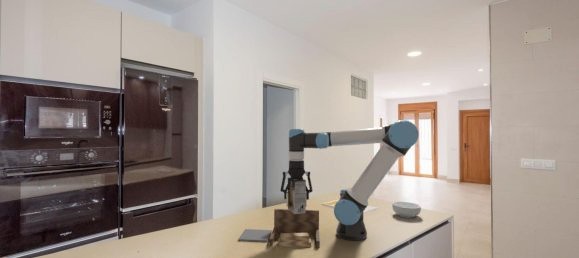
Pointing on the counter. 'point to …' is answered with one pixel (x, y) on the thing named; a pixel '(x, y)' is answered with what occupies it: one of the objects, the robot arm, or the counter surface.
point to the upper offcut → (294, 237)
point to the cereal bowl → (406, 209)
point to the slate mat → (255, 235)
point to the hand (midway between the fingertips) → (296, 206)
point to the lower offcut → (295, 243)
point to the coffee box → (297, 196)
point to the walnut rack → (295, 223)
